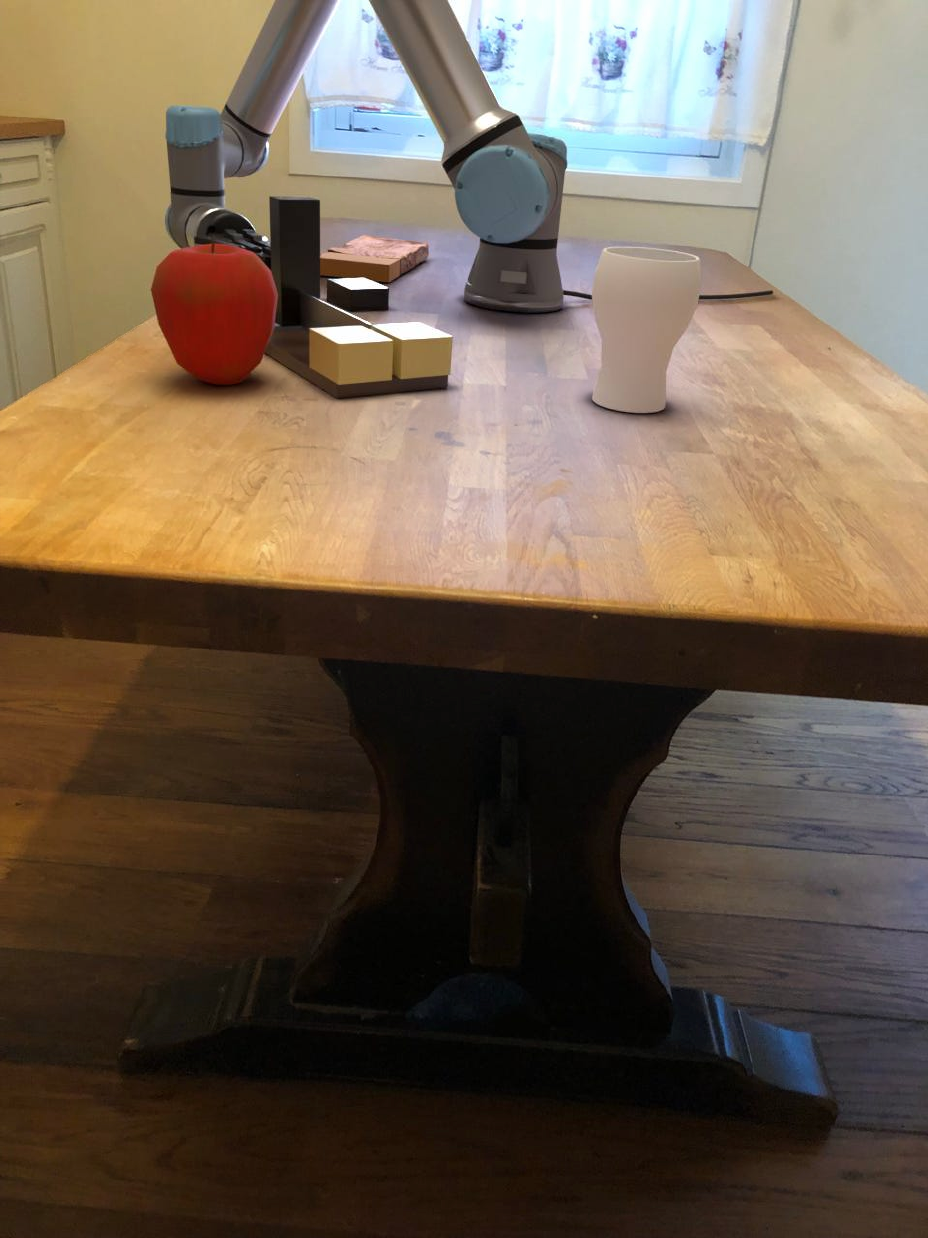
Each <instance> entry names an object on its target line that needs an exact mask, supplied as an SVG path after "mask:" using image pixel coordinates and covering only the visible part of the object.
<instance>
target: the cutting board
mask: <svg viewBox="0 0 928 1238" xmlns="http://www.w3.org/2000/svg"><path fill="white" fill-rule="evenodd" d="M264 354H266V355H268V356H269V357H271V358H272V359H274V360H276V362H278V363H279V364H282V365H283V366H285V367H287V368H288V369H290V370H292V371H293V372H295V373H296V374H297V375H299V376H301V377H302V378H303V379H306V380H307V381H308V382H310V383H312V384H314V385H315V386H317V387H318V388H320V389H321V390H323V391H325V392H326V393H328V394H330V395H331V396H332V397H334V398H335V399H344V398H354V397H365V396H376V395H384V394H385V395H386V394H396V393H407V392H416V391H424V390H425V391H426V390H436V389H437V390H438V389H446V388H448V384H449V375H442V376H431V377H420V378H409V379H400V378H398V377H396V376H394V375H392V380H387V381H376V382H365V383H353V384H342V385H338V384H336V383H335V382H333V381H331V380H330V379H328V378H327V377H325V376H323V375H322V374H320V373H318V372H317V371H315V370H313V369H312V368H310V350H309V330H307V329H305V328H303V327H302V326H289V327H282V326H280V325H278V324H276V323H275V325H274V330H273V333H272V335H271V338H270V340H269V343H268V345H267V348H266V350H265V353H264Z"/></svg>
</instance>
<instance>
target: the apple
mask: <svg viewBox="0 0 928 1238" xmlns="http://www.w3.org/2000/svg"><path fill="white" fill-rule="evenodd" d="M215 238H216V236H214V235H213V238H212V244H206V245H199V246H193V247H188V248H183V249H181V248H178V249H174V250H172V251H171V252H169V253H168V254H167V256H165V258H163V259H162V260H161V262H160V263H159V264H157V266H156V268H155V273H154V276H153V280H152V283H151V287H150V293H151V297H152V302H153V306H154V311H155V315H156V320H157V323H158V326H159V328H160V330H161V332H162V334H163V337H164V339H165V341H166V344H167V345H168V347H169V350H170V351H171V354H172V356H173V358H174V360H175V363H176V364H177V366H179V367H181V368H182V369H183V370H185V371H186V372H187V373H189V374H190V375H191V376H193V377H194V378H196V379H197V380H199V381H202V382H203V383H204V382H205V383H208V384H213V385H216V386H217V385H218V386H230V385H237V384H240V383H242V382H243V381H244V380H245V379H246V378H247V377H248V376H249V375H250V374H252V373H253V371H254V370H255V369H256V368H257V367H258V366H259V365H260V364H261V363H262V360H263V358H264V355H265V354H266V353H265V350H266V348H267V345H268V343H269V340H270V338H271V335H272V333H273V330H274V325H275V316H276V308H277V300H278V293H277V289H276V286H275V282H274V279H273V276H272V272H271V270H270V269H269V268H268V267H267V266H266V265H265V264H264V262H263V261H262V260H261V259H260V258H259V257H258V256H257V255H256V254H255V253H254V252H251V251H248V250H246V249H242V248H239V247H235V246H231V245H226V244H215Z"/></svg>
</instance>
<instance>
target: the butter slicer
mask: <svg viewBox="0 0 928 1238" xmlns="http://www.w3.org/2000/svg"><path fill="white" fill-rule="evenodd" d="M268 198H269V199H268V200H269V237H270V239H269V242H271V272H272V276H273V279H274V282H275V286H276V289H277V293H278V300H277V308H276V316H275V323H276V324H278V325H280V326H282V327H289V326H302V327H303V328H305V329H307V330H309V328H325V327H342V326H360V325H362V326H364V327H366V328H368V329H370V330H371V329H372V325H373V324H372V323H371V322H368V321H366V320H364V319H362V318H360V317H357V316H355V315H353V314H351V313H349V312H347V311H345V310H343V309H340V308H338V307H336V306H334V305H332V304H330V303H328V302H325V301H323V300H321V275H320V255H321V200H320V199H317V198H314V197H311V196H270V195H269V197H268Z"/></svg>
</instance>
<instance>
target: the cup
mask: <svg viewBox="0 0 928 1238" xmlns="http://www.w3.org/2000/svg"><path fill="white" fill-rule="evenodd" d="M701 275H702V274H701V258H700V257H699V256H698V255H695V254H692V253H688V252H682V251H677V250H672V249H664V248H655V247H646V246H645V247H644V246H624V245H623V246H622V245H621V246H620V245H619V246H610V247H605V248H603V249H602V251H601V254H600V257H599V260H598V263H597V266H596V269H595V272H594V275H593V282H592V289H591V290H592V291H591V295H592V300H591V301H592V308H593V315H594V320H595V324H596V327H597V330H598V332H599V333H598V334H599V335H600V339H601V366H600V368H599V372H598V374H597V377H596V381H595V386H594V388H593V392H592V397H591V399H592V402H594V403H595V404H596V405H599V406H601V407H603V408H606V409H610V410H613V411H618V412H625V413H632V414H633V413H634V414H649V413H658V412H660V411H662V410H665V408H666V402H667V401H666V400H667V370H668V368H669V364H670V361H671V357H672V355H673V351H674V348H675V347H676V345H677V343H678V342H679V341H680V339H681V338H682V336H683V335H684V333H685V332H686V330H687V329H688V327H689V325H690V323H691V321H692V319H693V317H694V314H695V312H696V310H697V308H698V306H699V305H698V303H699V300H698V299H699V295H701V288H702V280H701V279H702V278H701V277H702V276H701Z"/></svg>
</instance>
